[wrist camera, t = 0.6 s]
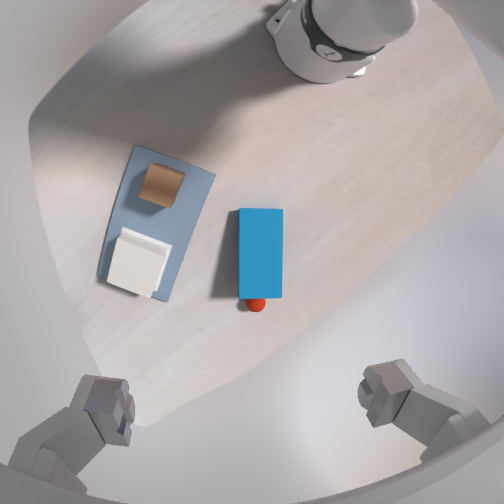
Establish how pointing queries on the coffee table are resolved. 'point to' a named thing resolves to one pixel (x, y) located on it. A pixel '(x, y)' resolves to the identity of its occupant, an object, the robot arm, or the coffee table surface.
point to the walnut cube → (161, 185)
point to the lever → (259, 255)
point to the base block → (136, 264)
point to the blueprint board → (157, 215)
